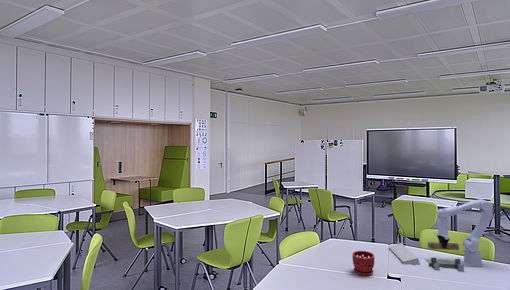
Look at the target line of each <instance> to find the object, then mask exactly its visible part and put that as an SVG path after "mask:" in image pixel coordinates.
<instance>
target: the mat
mask: <svg viewBox="0 0 510 290" xmlns="http://www.w3.org/2000/svg"><path fill="white" fill-rule="evenodd" d="M424 259H425V261H427V262H428V264H429V263H431V258H424ZM437 263H442V264H455V259H441V258H437Z"/></svg>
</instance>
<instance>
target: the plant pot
mask: <svg viewBox="0 0 510 290" xmlns="http://www.w3.org/2000/svg"><path fill="white" fill-rule="evenodd" d="M352 264H353V271H354V273H356V274H357V275H360V276H366V277H367V276H371V275H373V273H374V270H373V268H374V266H375V254H373V252H369V251H366V250H365V251H364V250H356V251H353V252H352Z"/></svg>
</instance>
